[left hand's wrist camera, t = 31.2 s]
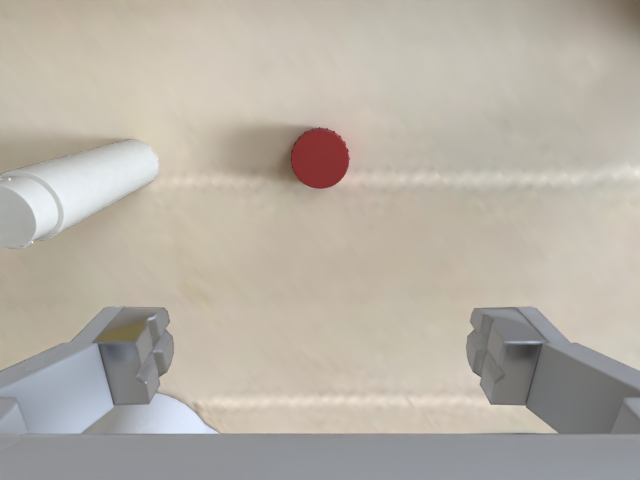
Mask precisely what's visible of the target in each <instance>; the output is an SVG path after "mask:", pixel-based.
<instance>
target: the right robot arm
mask: <svg viewBox="0 0 640 480" xmlns="http://www.w3.org/2000/svg"><path fill="white" fill-rule="evenodd" d="M82 433H101V434H102V433H103V434H220V433H218V432H217V431H215V430H213V429H211V428H210V427H208V426H206V425H205V424H204V423H203V422H202V420H201V419H200V418H199V417H198V416H197V414H196V413H195V412H194V411H193V410H192V409H190V408H189V407H188V406H186V405H185V404H183V403H182V402H180V401H178V400H176V399H174V398H172V397H170V396H167V395H164V394H160V393H155V395H154V397H153V399H152V400H151V402H150V404H147V405H114V408H112V409H111V410H110V411H109V412H107V413H106V414H105V415H104V416H102V417H101V418H100V419H98V420H97V421H96V422H95V423H93V424H92V425H91V426H90V427H88V428H87V429H86V430H85V431H83V432H82Z"/></svg>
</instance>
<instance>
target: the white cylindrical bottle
mask: <svg viewBox="0 0 640 480" xmlns="http://www.w3.org/2000/svg"><path fill="white" fill-rule="evenodd" d="M158 171H159V161H158V158H157V155H156V154H155V152H154V151H153V149H152V148H151V147H150V146H148V145H147V144H146V143H144V142H142V141H140V140H136V139H128V140H123V141H120V142H116V143H112V144H108V145H105V146H101V147H97V148H93V149H89V150H86V151H82V152H78V153H74V154H71V155H67V156H63V157H59V158H56V159H52V160H48V161H44V162H40V163H37V164H33V165H29V166H25V167H22V168H18V169H14V170H10V171H7V172H4V173H2V174H0V246H1V247H5V248H17V249H20V248H25V247H27V246H29V245H31V244H33V243H34V242H33V241H41V240H46V239H49V238H52V237H54V236H55V235H57V234H59V233H61V232H63V231H64V230H66V229H68V228H70V227H72V226H73V225H75V224H77V223H79V222H81V221H82V220H84V219H86V218H88V217H90V216H91V215H93V214H95V213H97V212H99V211H100V210H102V209H104V208H106V207H108V206H109V205H111V204H113V203H115V202H117V201H118V200H120V199H122V198H124V197H126V196H127V195H129V194H131V193H133V192H135V191H136V190H138V189H140V188H142V187H144V186H145V185H147V184H149V183H151V182H152V181H153V180H154V179H155V178H156V176H157V174H158Z"/></svg>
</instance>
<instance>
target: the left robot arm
mask: <svg viewBox="0 0 640 480" xmlns="http://www.w3.org/2000/svg"><path fill="white" fill-rule="evenodd" d="M169 323H170V320H169V315H168V311H167V310H166V309H165V308H159V307H106V308H103V309H102V310H101V311H100V312H99V313H98V314H97V315H96V316H95V317H94V318H93V319H92V320H91V321H90V322H89V323H88V324H87V325H86V326H85V328H84V329H83V330H82V331H81V332H80V333H79V334H78V335H77V336H76V337H75V338H74V339H73V340H72V341H71V342H70V343H62V344H59V345H57V346H55V347H53V348H50V349H48V350H46V351H44V352H41V353H39V354H37V355H35V356H33V357H30V358H28V359H26V360H24V361H21V362H19V363H17V364H15V365H13V366H10V367H8V368H6V369H4V370H1V371H0V480H640V371H638V370H636V369H634V368H632V367H630V366H627V365H625V364H623V363H621V362H618V361H616V360H614V359H612V358H610V357H607V356H605V355H603V354H601V353H598V352H596V351H594V350H592V349H590V348H587V347H585V346H583V345H581V344H578V343H570V342H569V341H568V340H567V338H566V337H565V336H564V335H563V334H562V333H561V332H560V331H559V330H558V329H557V328H556V327H555V326H554V325H553V324H552V323H551V322H550V321H549V320H548V319H547V318H546V317H545V316H544V315H543V314H542V313H541V312H540V311H539V310H538V309H537V308H534V307H532V306H531V307H502V308H474V310H473V312H472V314H471V320H470V323H471V324H472V326H473V327H474V330H473V331H472V332H471V333H470V334H469V335H468V337H467V344H466V351H467V359H468V362H469V365H470V367H471V369H472V371H473V372H474V373H475V374H477V375H478V376H480V377H481V381H480V386H481V388H482V389H483V391H484V393H485V395H486V397H487V399H488V400H489V402H490V404H492V405H526V407H527V408H528V409H529V410H530V411H532V412H533V413H534V414H535V415H537V416H538V417H539V418H540V419H542V420H543V421H544V422H545V423H547V424H548V425H549V426H551V427H552V428H553V429H554V430H556V431H557V432H558V433H559V434H103V433H102V434H101V433H82V432H83V431H85V430H86V429H87V428H88V427H90V426H91V425H92V424H93V423H95V422H96V421H97V420H98V419H100V418H101V417H102V416H104V415H105V414H106V413H107V412H109V411H110V410H111V409H112V408H114V405H147V404H150V402H151V400H152V399H153V397H154V395H155V393H156V391H157V389H158V388H159V386H160V381H159V377H160V376H162V375H163V374H165V373H166V372H167V371H168V369H169V367H170V365H171V362H172V358H173V353H174V343H173V337H172V335H171V334H170V333H169V332H168V331H167V330H166V327H167V326H168V324H169Z"/></svg>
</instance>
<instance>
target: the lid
mask: <svg viewBox="0 0 640 480" xmlns="http://www.w3.org/2000/svg"><path fill="white" fill-rule="evenodd" d="M345 145H346V144H345V141H344V142H343V140H342V139H341V136H339V135H337V134H336V133H335V131H331V130H328V128H327V129H324V128H320V127H319V128H316V129H313V128H312V130H309V131H307V132H305V133H304V134H303V135H302V136H301V137H299V138H298V141H297V142H295V144H294V149H293V150H292V152H291V153H292V157H291V162H292V168H293V170H294V173H295V175H296V176H297V177H298V179H299V180H300V181H301V182H303V183H304V184H306V185H307V186H310V187H313V188H320V189H321V188H328V187H331V186H333V185H335V184H336V183H338V182H339V181H340V180H341V179H342V178H343V176H344V175H345V174H346V171H347V169H348V164H349V159H350V158H349V155H348V152H349V151H348V149H347V148H346V146H345Z"/></svg>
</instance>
